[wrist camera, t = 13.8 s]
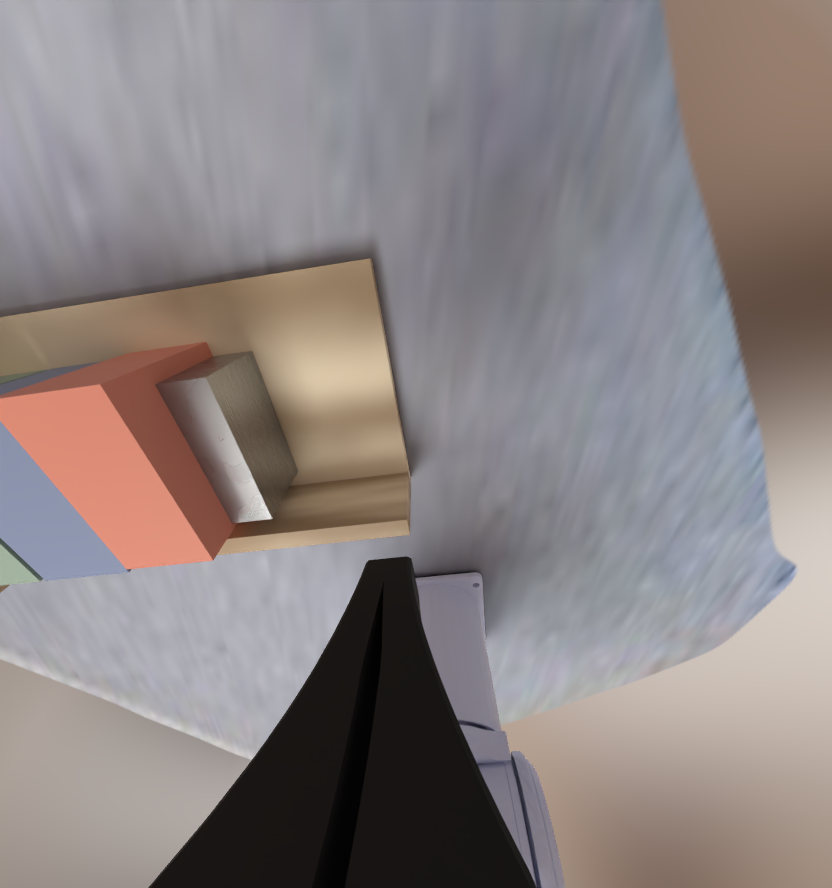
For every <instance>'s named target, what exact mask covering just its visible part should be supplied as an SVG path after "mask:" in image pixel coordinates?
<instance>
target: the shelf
mask: <svg viewBox="0 0 832 888" xmlns="http://www.w3.org/2000/svg"><path fill="white" fill-rule="evenodd" d="M201 342H207V344H208V346H209V349H210V351H211V353H212V355H213V356H220V355H227V354H234V353H241V352H248V351H253V354H254V357H255V359H256V362H257V365H258V367H259V370H260V372H261V375H262V378H263V380H264V383H265V386H266V388H267V391H268V393H269V396H270V399H271V401H272V404H273V406H274V409H275V412H276V414H277V417H278V420H279V422H280V425H281V427H282V430H283V433H284V435H285V438H286V441H287V443H288V446H289V448H290V451H291V454H292V456H293V459H294V461H295V464H296V467H297V469H298V473H297V474H296V476H295V478H294V480H293V482H292V484H291V485H290V487H289V489H288V491H287V493H286V495H285V496H284V498H283V500H282V502H281V504H280V506H279V507H278V509H277V511H276V513H275V515H274V517H273V518H272V519H267V520H258V521H249V522H240V523H238V524H237V525H236V527H235V528H234V530H233V531H232V533H231V534H230V536H229V537H228V539H227V540H226V542H225V543H224V545H223V546H222V548H221V549H220V551H219V552H218V554H217V555H222V554H231V553H241V552H250V551H260V550H269V549H279V548H289V547H298V546H308V545H317V544H327V543H337V542H346V541H356V540H365V539H375V538H384V537H394V536H404V535H410V500H411V476H410V471H409V465H408V459H407V454H406V448H405V442H404V437H403V431H402V425H401V420H400V414H399V409H398V403H397V397H396V392H395V386H394V380H393V375H392V369H391V363H390V358H389V352H388V347H387V341H386V335H385V330H384V324H383V318H382V313H381V307H380V301H379V296H378V290H377V284H376V279H375V273H374V268H373V262H372V258H369V259H363V260H357V261H350V262H344V263H338V264H331V265H325V266H319V267H313V268H306V269H300V270H294V271H287V272H281V273H275V274H269V275H262V276H256V277H250V278H243V279H237V280H231V281H225V282H218V283H212V284H206V285H199V286H193V287H187V288H181V289H174V290H168V291H162V292H155V293H149V294H143V295H137V296H130V297H124V298H118V299H111V300H105V301H99V302H93V303H86V304H80V305H74V306H67V307H61V308H55V309H49V310H42V311H36V312H30V313H23V314H17V315H11V316H5V317H0V376H6V375H13V374H20V373H27V372H34V371H40V370H47V369H48V370H50V369H54V368H60V367H67V366H74V365H81V364H88V363H95V362H101V361H106V360H109V359H112V358H115V357H118V356H121V355H124V354H127V353H133V352H140V351H147V350H154V349H160V348H167V347H174V346H181V345H188V344H194V343H201ZM8 586H9V585H1V586H0V592H2V591H3V590H4V589H5V588H7V587H8Z"/></svg>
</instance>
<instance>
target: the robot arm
mask: <svg viewBox="0 0 832 888" xmlns="http://www.w3.org/2000/svg"><path fill="white" fill-rule="evenodd" d="M149 888H565V882H564V877H563V872H562V867H561V863H560V858H559V853H558V849H557V844H556V840H555V835H554V831H553V827H552V823H551V819H550V815H549V811H548V807H547V804H546V800H545V797H544V793H543V790H542V786H541V784H540V781H539V777H538V775H537V772H536V770H535V768H534V766H533V765H532V764H531V763H530V762H529V761H528V760H527V759H525V757H524V755H523V754H522V753H521V752H520V751H515V752H511V756H510V751H509V746H508V741H507V736H506V732H505V731H501V725H500V720H499V714H498V709H497V704H496V698H495V693H494V687H493V682H492V677H491V671H490V666H489V660H488V655H487V650H486V637H485V619H484V601H483V583H482V576H481V574H480V573H477V572H473V573H463V574H452V575H442V576H431V577H421V578H415V574H414V569H413V564H412V559H411V558H409V557H397V558H387V559H378V560H369V561H368V562H367V563H366V565H365V568H364V570H363V573H362V575H361V578H360V580H359V582H358V584H357V587H356V589H355V591H354V593H353V595H352V598H351V600H350V602H349V604H348V606H347V608H346V610H345V612H344V614H343V616H342V618H341V620H340V622H339V624H338V626H337V628H336V630H335V632H334V634H333V635H332V637H331V639H330V641H329V643H328V644H327V646H326V648H325V650H324V651H323V653H322V655H321V657H320V659H319V660H318V662H317V664H316V666H315V667H314V669H313V671H312V672H311V674H310V675H309V677H308V679H307V680H306V682H305V684H304V685H303V687H302V688H301V690H300V691H299V693H298V695H297V696H296V698H295V699H294V701H293V702H292V704H291V705H290V707H289V708H288V710H287V711H286V713H285V714H284V716H283V717H282V719H281V720H280V721H279V723H278V724H277V726H276V727H275V729H274V730H273V732H272V733H271V734H270V736H269V737H268V739H267V740H266V742H265V743H264V744H263V746H262V747H261V748H260V750H259V751H258V753H257V754H256V755H255V757H254V758H253V759H252V761H251V762H250V763H249V765H248V766H247V767H246V769H245V770H244V771H243V772H242V774H241V775H240V777H239V778H238V779H237V780H236V782H235V783H234V784H233V785H232V787H231V788H230V789H229V791H228V792H227V793H226V794H225V796H224V797H223V799H222V800H221V801H220V802H219V803H218V805H217V806H216V808H215V809H214V810H213V811H212V812H211V814H210V815H209V816H208V817H207V819H206V820H205V821H204V822H203V824H202V825H201V826H200V827H199V828H198V830H197V831H196V832H195V833H194V834H193V836H192V837H191V838H190V839H189V840H188V842H187V843H186V844H185V845H184V846H183V847H182V849H181V850H180V851H179V852H178V853H177V854H176V856H175V857H174V858H173V859H172V860H171V862H170V863H169V864H168V865H167V867H165V869H164V870H163V871H162V872H161V873H160V875H159V876H158V877H157V878H156V879H155V881H154V882H153V883H152V884H151V885H150V886H149Z"/></svg>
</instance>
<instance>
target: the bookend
mask: <svg viewBox="0 0 832 888" xmlns="http://www.w3.org/2000/svg"><path fill="white" fill-rule="evenodd" d="M155 386H156V388H157V389H158V391H159V393H160V395H161V397H162V398H163V400H164V402H165V404H166V406H167V407H168V409H169V411H170V413H171V415H172V416H173V418H174V420H175V422H176V423H177V425H178V427H179V429H180V431H181V432H182V434H183V436H184V438H185V440H186V441H187V443H188V445H189V447H190V449H191V450H192V452H193V454H194V456H195V458H196V459H197V461H198V463H199V465H200V467H201V468H202V470H203V472H204V474H205V476H206V477H207V479H208V481H209V483H210V485H211V486H212V488H213V490H214V492H215V494H216V495H217V497H218V499H219V501H220V503H221V504H222V506H223V508H224V510H225V512H226V513H227V515H228V517H229V519H230V521H231V522H232V523H240V522H249V521H258V520H267V519H272V518H273V517H274V515H275V513H276V511H277V509H278V507H279V506H280V504H281V502H282V500H283V498H284V496H285V495H286V493H287V491H288V489H289V487H290V485H291V484H292V482H293V480H294V478H295V476H296V474H297V473H298V469H297V467H296V464H295V461H294V459H293V456H292V454H291V451H290V448H289V446H288V443H287V441H286V438H285V435H284V433H283V430H282V427H281V425H280V422H279V420H278V417H277V414H276V412H275V409H274V406H273V404H272V401H271V399H270V396H269V393H268V391H267V388H266V386H265V383H264V380H263V378H262V375H261V372H260V370H259V367H258V365H257V362H256V359H255V357H254V354H253V351H248V352H241V353H234V354H227V355H220V356H213V357H211V358H208V359H206V360H204V361H202V362H200V363H198V364H196V365H194V366H192V367H190V368H188V369H186V370H184V371H182V372H180V373H178V374H176V375H173V376H171V377H169V378H167V379H165V380H163V381H161V382H159V383H157V384H155Z"/></svg>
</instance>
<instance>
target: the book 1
mask: <svg viewBox="0 0 832 888" xmlns="http://www.w3.org/2000/svg"><path fill="white" fill-rule="evenodd" d="M101 362H103V361H101ZM97 363H100V362H95V363H88V364H81V365H74V366H67V367H60V368H54V369H50V370H47V371H43V372H40V373H37V374H34V375H30V376H27V377H24V378H20V379H17V380H14V381H11V382H7V383H4V384H1V385H0V395H3V394H6V393H9V392H12V391H15V390H18V389H21V388H24V387H27V386H30V385H33V384H36V383H39V382H42V381H45V380H48V379H51V378H54V377H57V376H60V375H63V374H66V373H69V372H72V371H75V370H78V369H81V368H84V367H87V366H90V365H94V364H97ZM0 538H1V539H2V540H3V541H4V542H5V543H6V544H7V545H8V546H9V547H11V548H12V549H13V550H14V551H15V552H16V553H17V554H18V555H19V556H20V557H21V558H22V559H23V560H24V561H25V562H26V563H27V564H29V565H30V566H31V567H32V568H33V569H34V570H35V571H36V572H37V573H38V574H39V575H40V576H41V577H42V578H43V579H44V580H45V581H49V580H59V579H69V578H78V577H88V576H98V575H108V574H117V573H127V572H130V571H131V569H126V568H125V567H124V566H123V565H122V564H121V562H120V561H119V560H118V559H117V558H116V556H115V555H114V554H113V553H112V552H111V551H110V549H109V548H108V547H107V546H106V545H105V544H104V542H103V541H102V540H101V539H100V538H99V537H98V535H97V534H96V533H95V532H94V531H93V529H92V528H91V527H90V526H89V525H88V524H87V522H86V521H85V520H84V519H83V518H82V517H81V515H80V514H79V513H78V512H77V511H76V509H75V508H74V507H73V506H72V505H71V504H70V502H69V501H68V500H67V499H66V498H65V497H64V495H63V494H62V493H61V492H60V491H59V489H58V488H57V487H56V486H55V485H54V484H53V482H52V481H51V480H50V479H49V478H48V477H47V475H46V474H45V473H44V472H43V471H42V469H41V468H40V467H39V466H38V465H37V464H36V462H35V461H34V460H33V459H32V458H31V457H30V455H29V454H28V453H27V452H26V451H25V449H24V448H23V447H22V446H21V445H20V444H19V442H18V441H17V440H16V439H15V438H14V437H13V435H12V434H11V433H10V432H9V431H8V429H7V428H6V427H5V426H4V425H3V424H2V422H1V421H0Z"/></svg>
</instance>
